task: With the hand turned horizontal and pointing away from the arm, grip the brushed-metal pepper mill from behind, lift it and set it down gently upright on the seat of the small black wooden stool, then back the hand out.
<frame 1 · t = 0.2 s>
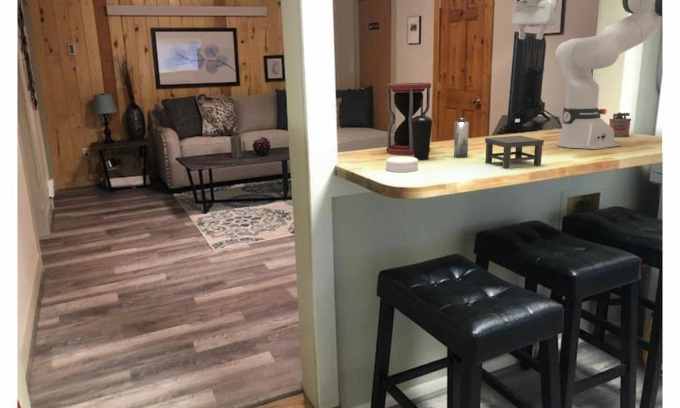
hand: (530, 39, 181), 39 cm above the table, tool pointing down, fingers open, 8 cm apart
hourglass: (408, 152, 196), on the table
stool: (512, 164, 166), on the table
drinking cup: (421, 159, 180), on the table
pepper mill: (460, 156, 182), on the table
coaster: (401, 170, 164), on the table
lighter: (618, 137, 216), on the table
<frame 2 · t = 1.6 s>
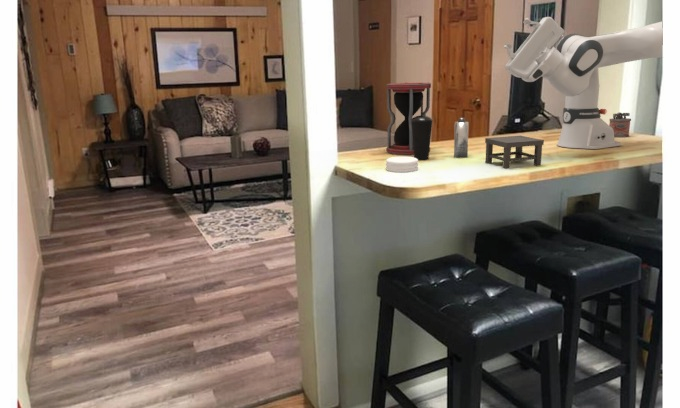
hand: (515, 32, 165), 41 cm above the table, tool pointing upward, fingers open, 8 cm apart
nothing on the table moved.
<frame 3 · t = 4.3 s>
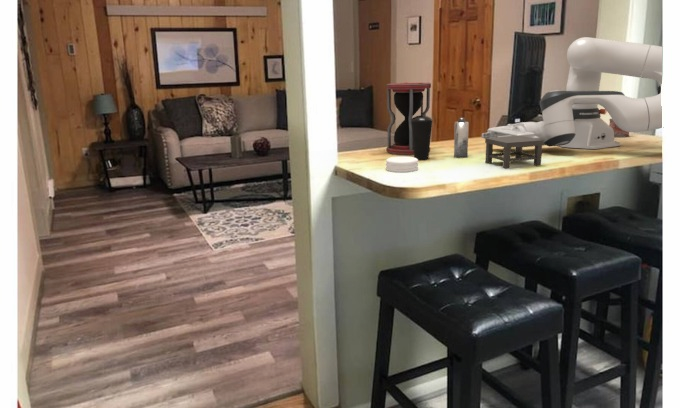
hand: (489, 137, 183), 6 cm above the table, tool horizontal, fingers open, 8 cm apart
nothing on the table moved.
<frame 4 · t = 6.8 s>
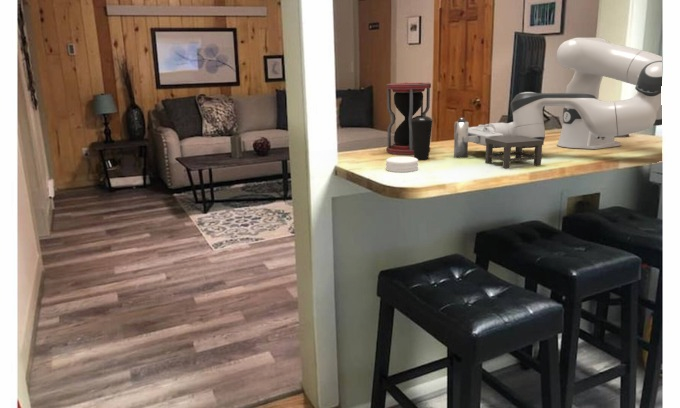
hand: (458, 138, 180), 7 cm above the table, tool horizontal, fingers closed on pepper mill, 5 cm apart
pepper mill: (460, 156, 182), on the table, touching gripper
everything else where it was.
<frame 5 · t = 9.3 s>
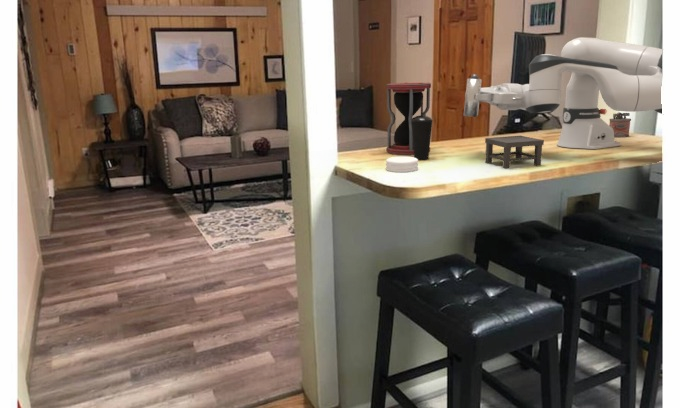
hand: (470, 96, 172), 21 cm above the table, tool horizontal, fingers closed on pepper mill, 5 cm apart
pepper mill: (470, 115, 174), point 14 cm above the table, touching gripper
everything else where it was.
when the fingers open (15 cm above the table, at t = 11.8 s): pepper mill stays where it is, resting on stool.
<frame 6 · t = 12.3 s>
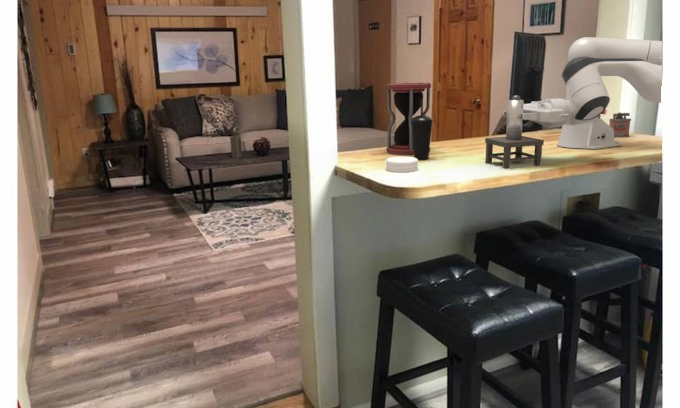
hand: (512, 115, 162), 15 cm above the table, tool horizontal, fingers open, 8 cm apart
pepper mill: (513, 139, 164), point 8 cm above the table, touching stool
everything else where it was.
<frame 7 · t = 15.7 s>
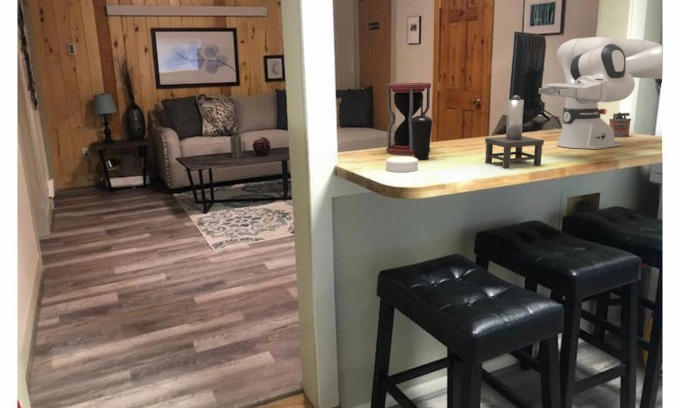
hand: (549, 91, 164), 22 cm above the table, tool horizontal, fingers open, 8 cm apart
nothing on the table moved.
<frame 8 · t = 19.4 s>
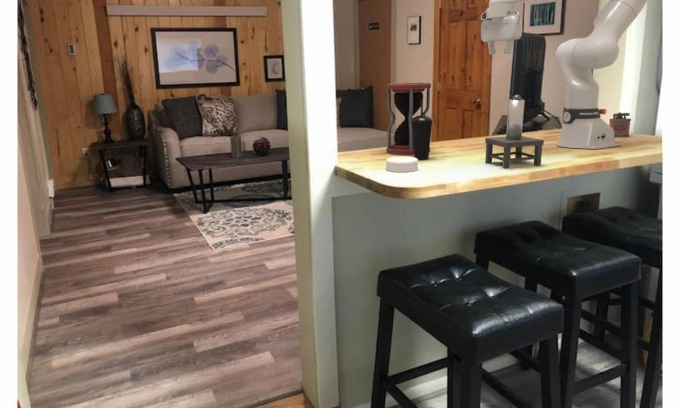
hand: (499, 54, 184), 34 cm above the table, tool pointing down, fingers open, 8 cm apart
nothing on the table moved.
at the end: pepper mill inside the target area on the stool (0.1 cm from its centre), point 8.1 cm above the stool's base; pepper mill tilted 2°; the gripper is holding nothing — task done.
